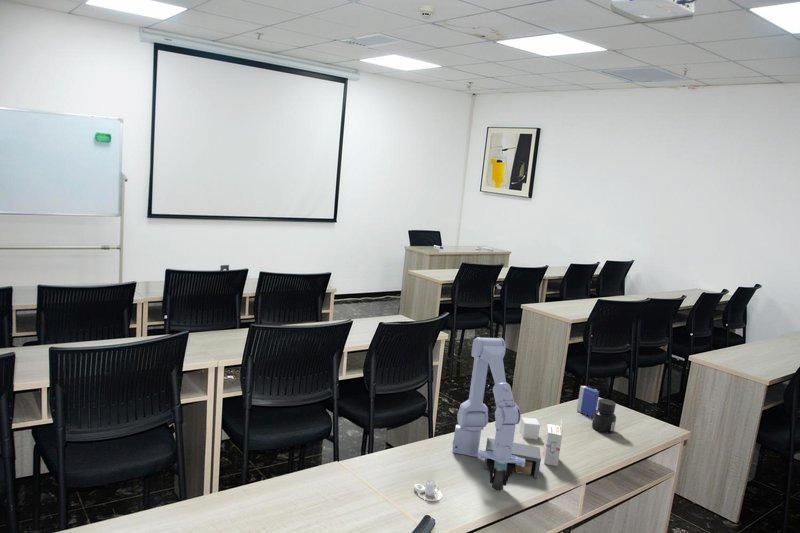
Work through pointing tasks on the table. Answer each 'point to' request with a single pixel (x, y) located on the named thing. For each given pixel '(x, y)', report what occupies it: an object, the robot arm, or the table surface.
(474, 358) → the robot arm
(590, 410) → the walkman
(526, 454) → the cubby shelf
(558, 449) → the ink cartridge box
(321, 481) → the table surface
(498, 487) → the block
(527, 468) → the ochre block
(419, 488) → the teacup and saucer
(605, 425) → the ink bottle
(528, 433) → the white cube
